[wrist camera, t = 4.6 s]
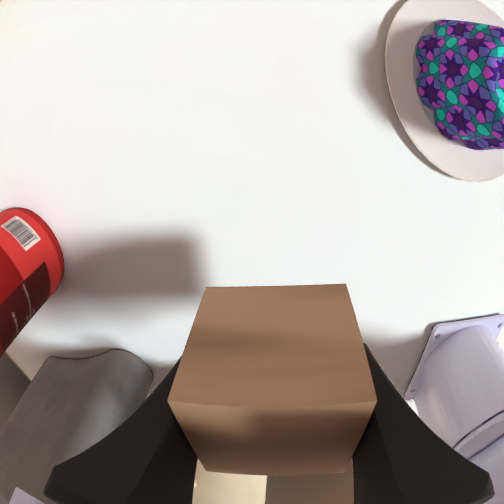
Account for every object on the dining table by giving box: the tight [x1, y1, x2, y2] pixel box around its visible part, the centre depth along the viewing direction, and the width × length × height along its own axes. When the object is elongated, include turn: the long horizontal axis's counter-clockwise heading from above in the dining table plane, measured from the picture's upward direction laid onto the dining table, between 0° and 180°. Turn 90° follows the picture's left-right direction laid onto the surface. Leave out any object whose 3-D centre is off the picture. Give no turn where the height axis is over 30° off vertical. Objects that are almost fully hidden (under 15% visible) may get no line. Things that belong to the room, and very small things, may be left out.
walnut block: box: [167, 284, 377, 476], centre depth 10 cm, size 5×5×5 cm
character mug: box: [192, 459, 267, 504], centre depth 18 cm, size 11×7×13 cm, turn 15°
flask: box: [0, 350, 153, 504], centre depth 17 cm, size 15×6×20 cm, turn 110°
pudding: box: [385, 0, 504, 182], centre depth 10 cm, size 12×12×5 cm
